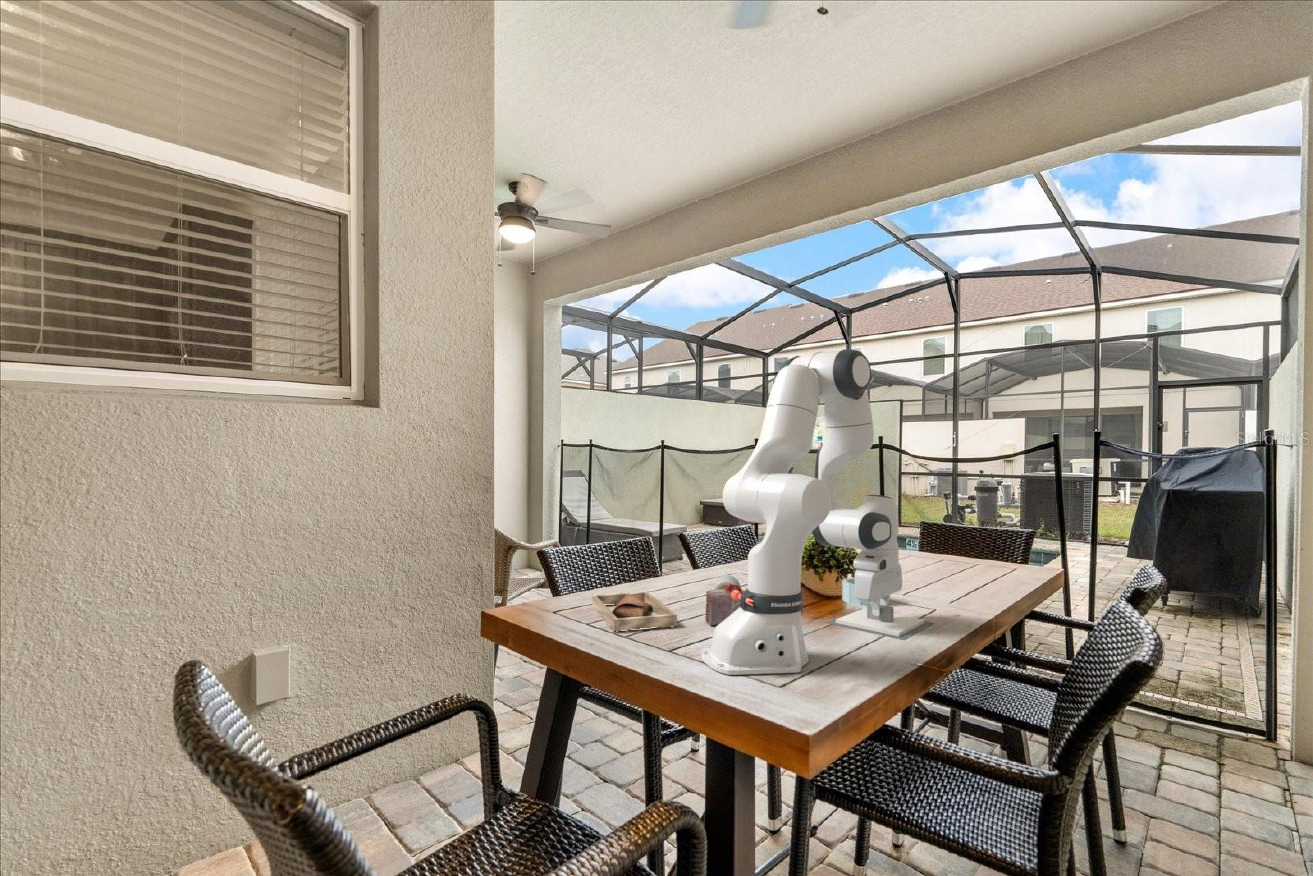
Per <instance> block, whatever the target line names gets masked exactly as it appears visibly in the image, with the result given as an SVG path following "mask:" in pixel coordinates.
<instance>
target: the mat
mask: <svg viewBox="0 0 1313 876" xmlns="http://www.w3.org/2000/svg"><path fill="white" fill-rule="evenodd" d="M861 609H862V608H858V609H856V610H852V611H851V612H848V613H845V614H843V615H840V616H839V617H834V618H833V619H830V620H828V621H825V622H824V623H825V624H828V625H831V626H837V627H843V628H845V629H846V628H847V629H851V630H854V631H859V632H865V633H869V634H874V635H879V636H882V637H888V638H892V639H896V640H899V641H900V640H901V641H906V640H908V639H910V638H911V637H913V636H915V635H917V634H918V633H920V632H922V631H924V630H926V629H927V628H929V627H931V626H933V625H935V624H936V622H932V621H927V620H925V623H924V624H922V625H920V626H918V627H916V628H914V629H912V630H910V631H908V632H906V633H905V634H903V635H901V636H895V635H890V634H886V633H881V632H876V631H872V630H867V629H862V628H858V627H853V626H849V625H844V624H839V623H836V619H838V618H841V617H843V616H846V615H848V614H851V613H853V612H856V611H858V610H861Z"/></svg>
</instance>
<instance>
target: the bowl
mask: <svg viewBox="0 0 1313 876" xmlns="http://www.w3.org/2000/svg"><path fill="white" fill-rule="evenodd" d="M841 596H842V597H841V599H842V601H843V602H844V603H848V604H850V605H851V604H852V605H857V606H863V607H867V604H869V603H870V602H864V601H859V600H857V598H856V595H855V577H847V580H846V578H844V580H843V579H841ZM880 600H881V598H880ZM879 604H880V602H879Z"/></svg>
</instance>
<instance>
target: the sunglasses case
mask: <svg viewBox="0 0 1313 876" xmlns="http://www.w3.org/2000/svg"><path fill="white" fill-rule="evenodd" d="M626 593H627V594H626V595H625V597H624V598H623V599H622V600H621V601H620V602H619V603H618V604H617V605H615V607H614V608H613V610H612V611H611V612H612V613H613V614H614V615H615V616H616V617H617V618H630V617H643V616H646V615H647V614H648V612H649V611H650V610H649V609H650V608H651V605H650V604H648V603H646V602H644V601H641V600H639V599H637V598H636V597H634V596H633V595H631V594H629V593H630V592H626ZM648 610H649V611H648ZM647 611H648V612H647Z"/></svg>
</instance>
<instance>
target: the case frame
mask: <svg viewBox="0 0 1313 876" xmlns="http://www.w3.org/2000/svg"><path fill="white" fill-rule="evenodd" d="M627 593H629V594H631V595H633V596H634V597H636V598H637V599H639V600H641V601H644V602H646V603H648V604H650V605H651V608H652V609H654V610H655V611H656V612H657V613H658V614H660V615H658V614H657V615H647V616H646V615H645V616H643V617H630V618H617V617H616V616H615V615H614V614H613V613H612V612H613V611H612V610H610V609H609V608H608V606H605V605H604V604H618V603H619V602H620V601H621V600H622V599H623V598H624V597H625V595H626V594H627ZM591 596H592V597H591V598H592V599H591V601H592V602H591V603H592V604H591V606H592V605H593V606H594V608H595V609H596V610H597V611H598V612H597V611H596V610H595V609H594V608H593V609H594V610H595V611H596V612H597V614H598V613H599V614H601V616H602V617H603V618H604V619H605V621H606V622H607V623H608V624H609V625H610V627H612V629H613V630H614V631H621V630H631V629H640V628H651V627H671V626H677V627H678V614H676V613H675V612H674V611H673V610H671V609H670V608H668V607H667V606H666V605H664V603H662V602H661V601H659V600H658V599H657V598H655V597H654V596H653V595H652V594H651V593H649V592H648V591H643V592H642V591H641V592H625V593H611V594H610V593H609V594H593V595H591ZM652 609H651V610H652ZM599 614H598V615H599ZM601 616H600V617H601ZM602 617H601V618H602ZM603 618H602V619H603ZM605 621H604V622H605ZM606 622H605V623H606ZM607 623H606V624H607ZM608 624H607V625H608ZM610 627H609V628H610ZM612 629H611V630H612ZM613 630H612V631H613Z"/></svg>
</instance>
